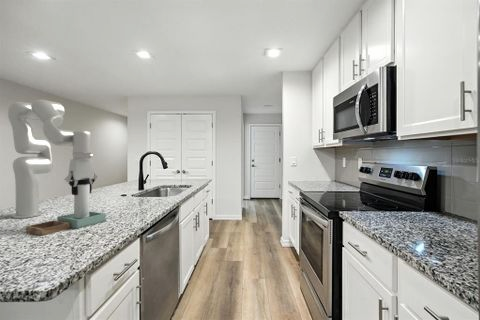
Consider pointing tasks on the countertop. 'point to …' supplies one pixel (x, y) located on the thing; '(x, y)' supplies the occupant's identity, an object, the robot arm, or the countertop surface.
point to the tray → (79, 223)
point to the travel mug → (82, 199)
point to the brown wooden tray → (53, 227)
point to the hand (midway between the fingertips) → (81, 193)
